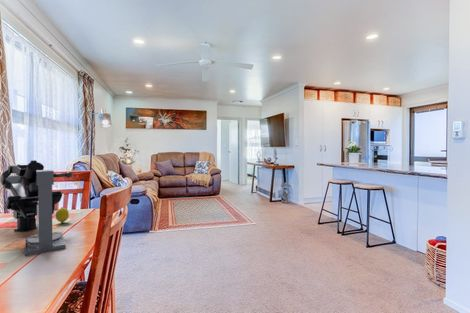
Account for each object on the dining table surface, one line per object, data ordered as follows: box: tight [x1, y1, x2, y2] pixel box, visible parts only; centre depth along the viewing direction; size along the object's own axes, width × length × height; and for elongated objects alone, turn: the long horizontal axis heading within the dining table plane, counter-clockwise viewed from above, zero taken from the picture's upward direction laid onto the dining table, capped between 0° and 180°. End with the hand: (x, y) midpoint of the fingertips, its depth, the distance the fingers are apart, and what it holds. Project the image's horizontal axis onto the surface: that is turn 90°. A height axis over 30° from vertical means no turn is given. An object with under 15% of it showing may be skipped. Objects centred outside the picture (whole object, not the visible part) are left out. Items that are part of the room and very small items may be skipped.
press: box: [24, 169, 73, 257], centre depth 101 cm, size 19×15×30 cm
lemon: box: [55, 206, 70, 224], centre depth 130 cm, size 6×6×8 cm
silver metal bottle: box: [36, 205, 39, 238], centre depth 103 cm, size 5×5×14 cm
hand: (40, 215), depth 107 cm, fingers open, 9 cm apart
